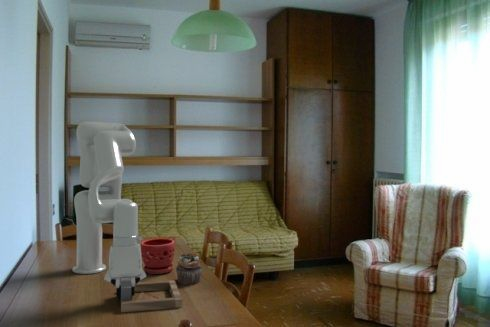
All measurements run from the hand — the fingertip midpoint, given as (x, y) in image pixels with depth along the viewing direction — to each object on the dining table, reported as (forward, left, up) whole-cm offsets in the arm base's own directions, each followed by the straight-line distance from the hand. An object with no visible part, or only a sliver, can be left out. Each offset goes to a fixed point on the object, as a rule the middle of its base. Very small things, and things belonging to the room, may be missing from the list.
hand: (125, 298), depth 140 cm
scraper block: (0, 0, -1) cm, 1 cm away
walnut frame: (0, +7, -1) cm, 7 cm away
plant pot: (-32, +13, -1) cm, 34 cm away
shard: (+2, +5, -2) cm, 6 cm away
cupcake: (-16, +23, -1) cm, 28 cm away
